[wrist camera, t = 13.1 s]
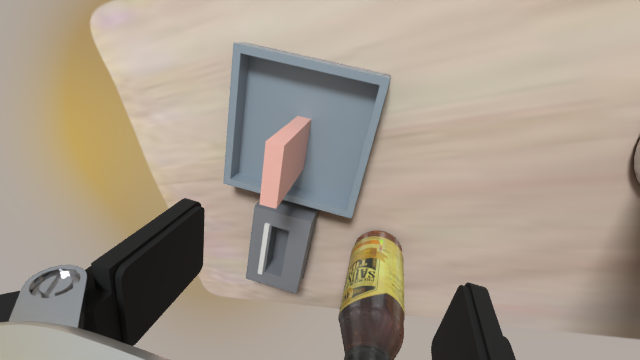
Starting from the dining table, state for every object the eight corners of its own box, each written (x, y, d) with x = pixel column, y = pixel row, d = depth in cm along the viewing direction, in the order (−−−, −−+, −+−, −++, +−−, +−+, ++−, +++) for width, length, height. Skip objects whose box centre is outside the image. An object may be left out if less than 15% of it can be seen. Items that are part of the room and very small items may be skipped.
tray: (390, 75, 32) (390, 78, 30) (354, 206, 39) (351, 218, 36) (245, 42, 34) (233, 42, 31) (234, 174, 41) (223, 183, 38)
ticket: (311, 118, 35) (284, 145, 26) (303, 168, 38) (276, 208, 29) (297, 116, 35) (265, 141, 26) (290, 165, 38) (259, 204, 29)
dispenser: (318, 208, 40) (311, 224, 37) (303, 276, 45) (296, 296, 41) (264, 193, 41) (252, 207, 37) (255, 261, 46) (243, 280, 42)
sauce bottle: (373, 218, 39) (359, 366, 21) (413, 247, 40) (432, 416, 22) (341, 251, 42) (306, 407, 24) (379, 278, 42) (372, 450, 25)
